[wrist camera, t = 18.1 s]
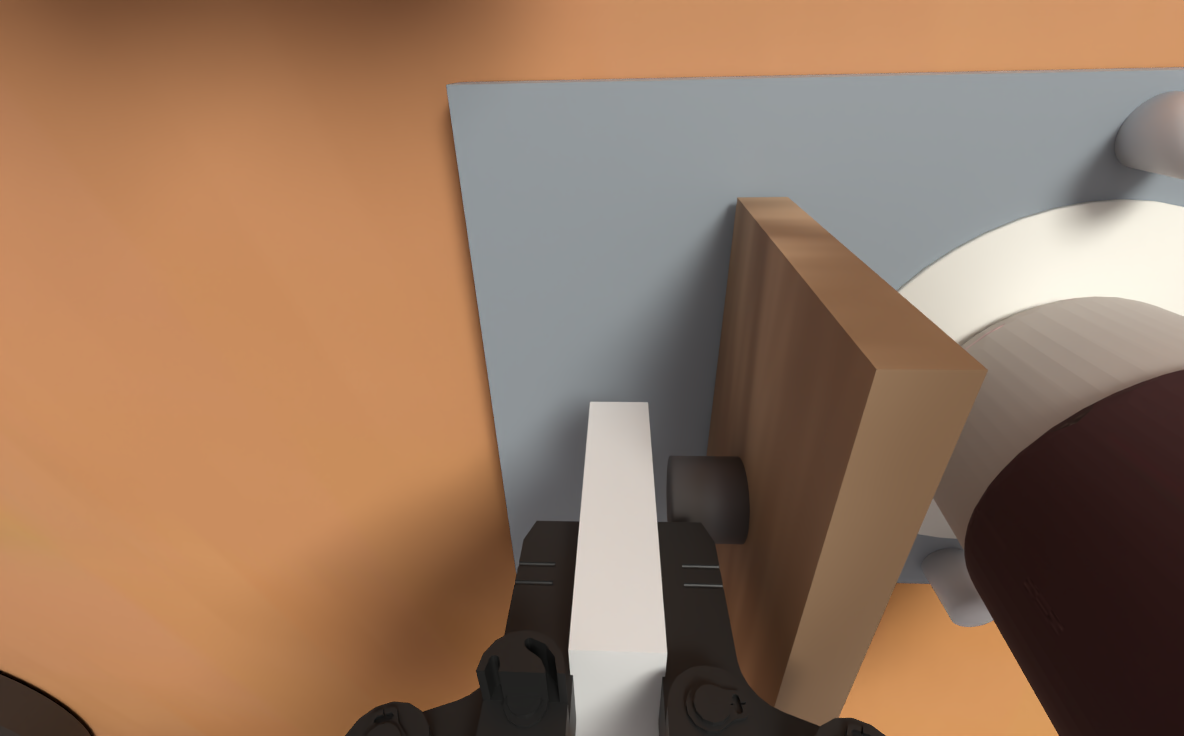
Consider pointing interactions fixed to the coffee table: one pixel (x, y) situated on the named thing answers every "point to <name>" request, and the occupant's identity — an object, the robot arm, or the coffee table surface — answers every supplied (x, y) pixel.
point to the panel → (817, 452)
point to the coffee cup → (1080, 508)
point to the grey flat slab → (826, 193)
